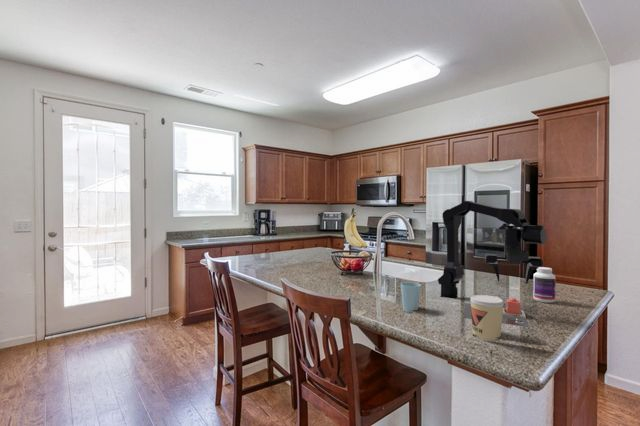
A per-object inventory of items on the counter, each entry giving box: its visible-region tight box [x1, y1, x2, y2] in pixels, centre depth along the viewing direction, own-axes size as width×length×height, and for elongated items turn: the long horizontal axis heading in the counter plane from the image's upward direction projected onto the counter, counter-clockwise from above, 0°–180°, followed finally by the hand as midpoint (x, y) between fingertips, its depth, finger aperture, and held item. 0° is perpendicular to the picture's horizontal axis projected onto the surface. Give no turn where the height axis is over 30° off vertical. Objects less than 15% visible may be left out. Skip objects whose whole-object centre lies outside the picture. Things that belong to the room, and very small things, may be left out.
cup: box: [400, 281, 422, 314], centre depth 127 cm, size 8×8×10 cm
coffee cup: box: [470, 294, 505, 342], centre depth 102 cm, size 9×9×12 cm
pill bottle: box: [532, 266, 557, 304], centre depth 142 cm, size 8×8×14 cm
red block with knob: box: [505, 297, 521, 315], centre depth 120 cm, size 4×4×6 cm
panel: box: [462, 302, 530, 328], centre depth 121 cm, size 20×20×2 cm
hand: (512, 282), depth 125 cm, fingers open, 9 cm apart
